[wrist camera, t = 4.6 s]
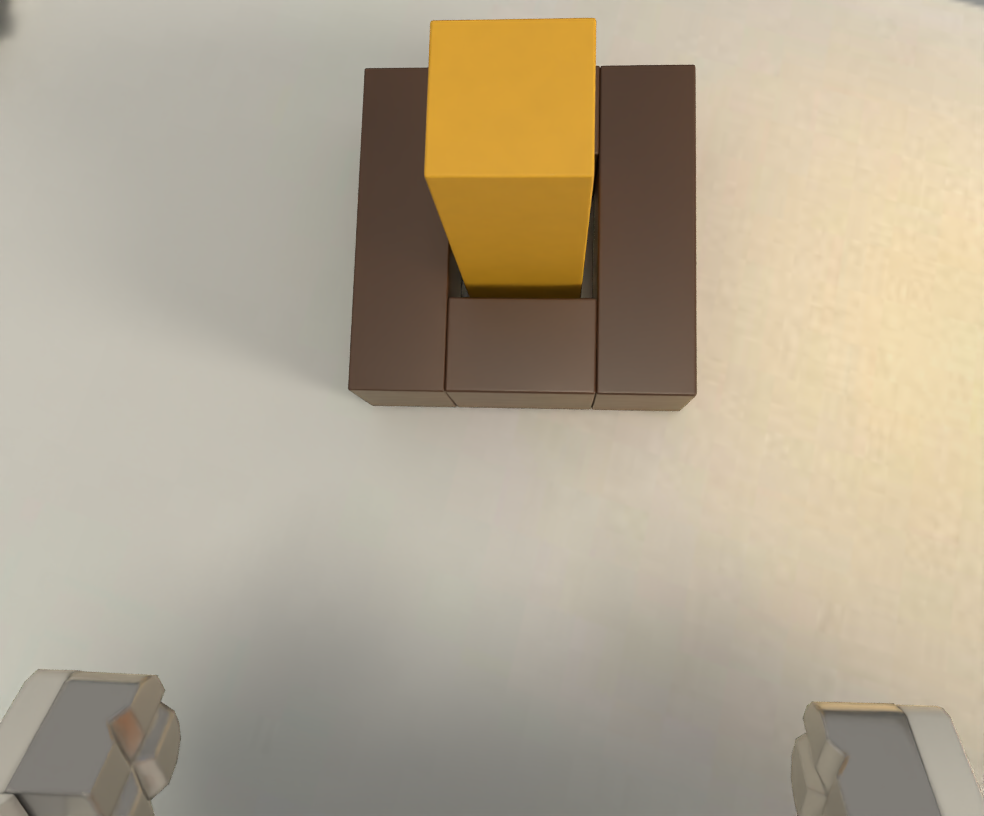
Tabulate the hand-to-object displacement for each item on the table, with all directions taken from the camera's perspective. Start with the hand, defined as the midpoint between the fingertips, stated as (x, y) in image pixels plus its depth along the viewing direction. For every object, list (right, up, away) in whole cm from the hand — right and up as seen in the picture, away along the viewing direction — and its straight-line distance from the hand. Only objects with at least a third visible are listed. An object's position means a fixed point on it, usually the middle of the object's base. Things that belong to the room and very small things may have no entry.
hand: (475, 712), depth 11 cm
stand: (+1, +8, +15) cm, 17 cm away
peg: (+1, +8, +15) cm, 17 cm away
